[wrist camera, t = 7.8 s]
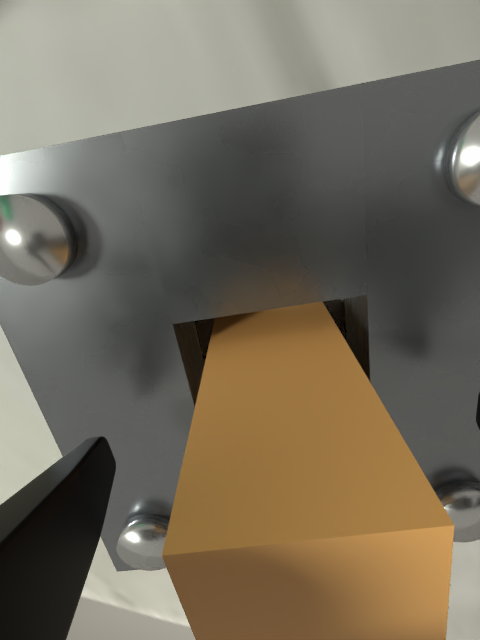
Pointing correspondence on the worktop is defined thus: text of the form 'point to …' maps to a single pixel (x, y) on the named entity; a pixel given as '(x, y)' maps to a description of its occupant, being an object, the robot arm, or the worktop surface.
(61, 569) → the robot arm
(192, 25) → the worktop surface
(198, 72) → the worktop surface
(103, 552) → the worktop surface
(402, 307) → the grey square hole plate
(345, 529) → the tan square peg
